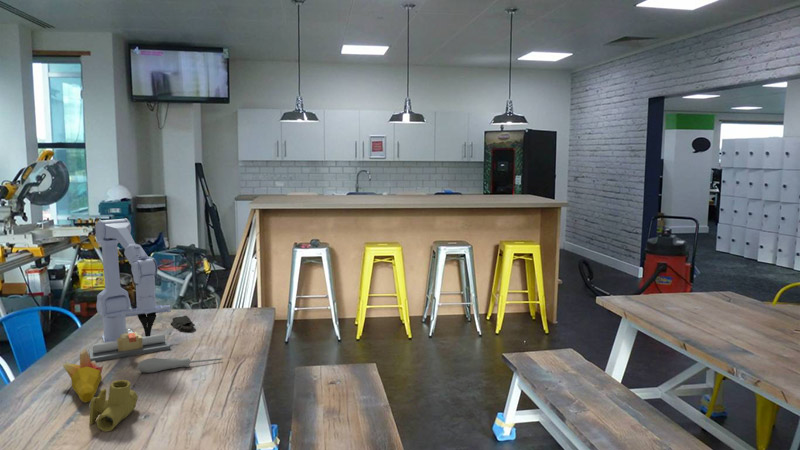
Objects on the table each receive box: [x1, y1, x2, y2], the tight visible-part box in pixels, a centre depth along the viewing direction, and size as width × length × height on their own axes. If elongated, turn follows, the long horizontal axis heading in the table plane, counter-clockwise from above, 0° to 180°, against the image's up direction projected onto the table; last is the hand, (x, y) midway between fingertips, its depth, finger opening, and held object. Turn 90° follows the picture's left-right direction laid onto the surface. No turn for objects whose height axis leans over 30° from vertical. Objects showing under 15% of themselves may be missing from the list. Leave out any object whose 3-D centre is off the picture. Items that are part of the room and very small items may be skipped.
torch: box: [62, 346, 104, 403], centre depth 154 cm, size 8×8×25 cm
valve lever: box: [125, 327, 137, 342], centre depth 181 cm, size 12×3×2 cm, turn 32°
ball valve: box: [88, 379, 139, 433], centre depth 137 cm, size 13×10×10 cm
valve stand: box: [88, 331, 171, 362], centre depth 186 cm, size 10×24×6 cm, turn 122°
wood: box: [170, 314, 196, 333], centre depth 215 cm, size 22×8×3 cm, turn 31°
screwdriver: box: [137, 356, 223, 374], centre depth 172 cm, size 5×25×4 cm, turn 114°
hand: (147, 335), depth 181 cm, fingers closed
